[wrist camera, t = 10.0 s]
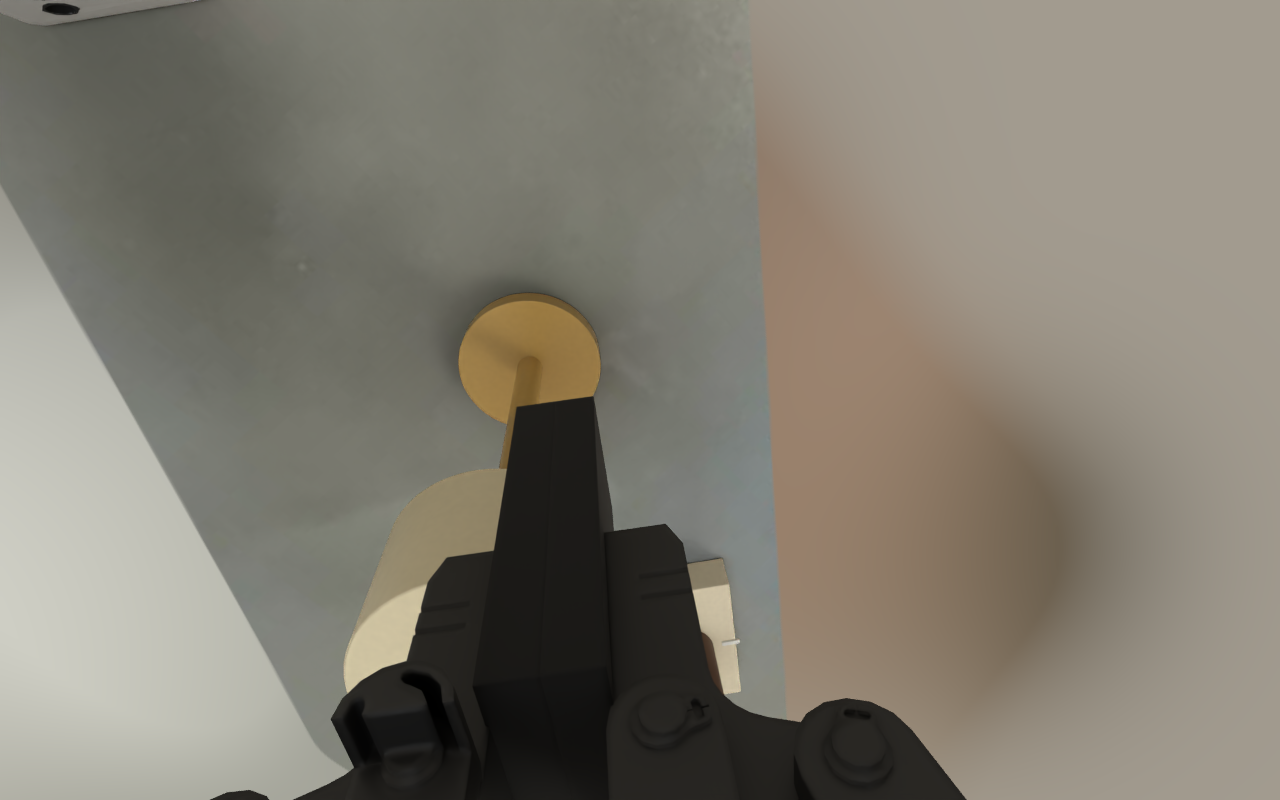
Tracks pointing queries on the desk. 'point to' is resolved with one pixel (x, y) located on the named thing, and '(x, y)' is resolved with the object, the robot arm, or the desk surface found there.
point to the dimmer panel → (717, 617)
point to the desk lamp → (470, 502)
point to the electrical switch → (74, 9)
